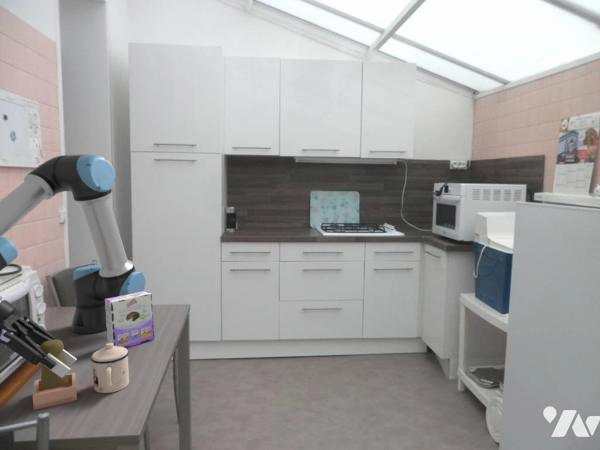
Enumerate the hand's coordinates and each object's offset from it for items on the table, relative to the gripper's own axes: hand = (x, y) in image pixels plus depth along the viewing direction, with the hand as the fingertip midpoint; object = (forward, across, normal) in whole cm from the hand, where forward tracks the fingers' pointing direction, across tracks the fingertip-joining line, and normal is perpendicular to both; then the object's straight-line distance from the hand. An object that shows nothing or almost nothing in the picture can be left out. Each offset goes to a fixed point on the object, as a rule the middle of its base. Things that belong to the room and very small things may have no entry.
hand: (69, 368), depth 109 cm
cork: (0, 0, -5) cm, 5 cm away
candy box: (+12, -33, +2) cm, 35 cm away
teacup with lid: (+12, -1, +1) cm, 12 cm away
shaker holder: (+3, 0, -8) cm, 8 cm away
